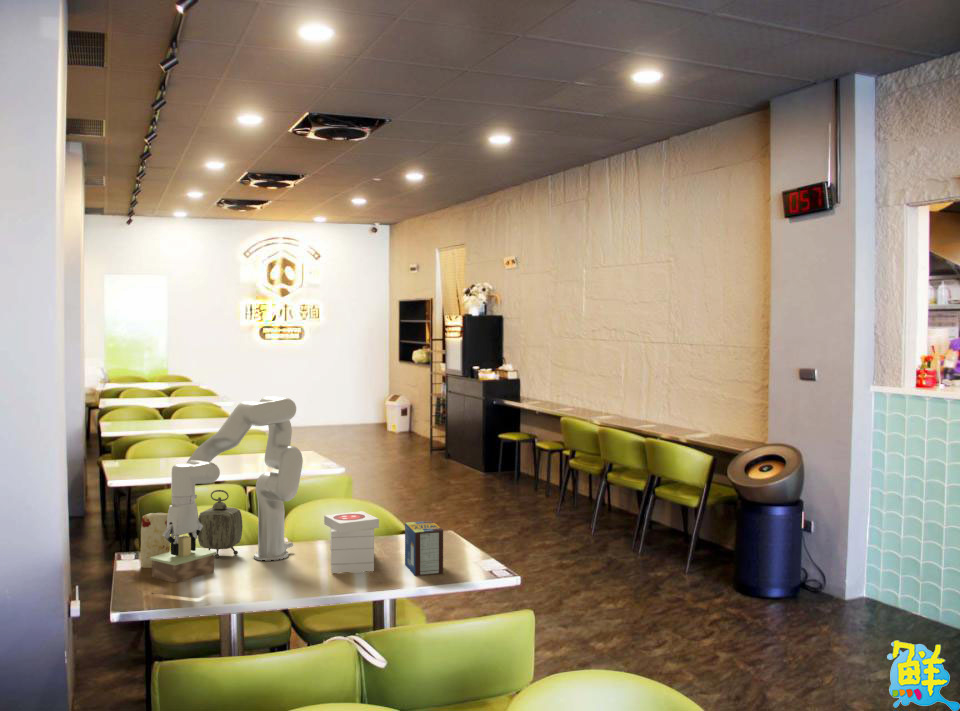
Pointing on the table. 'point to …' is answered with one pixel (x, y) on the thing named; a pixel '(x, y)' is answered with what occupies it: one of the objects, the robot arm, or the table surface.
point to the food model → (153, 537)
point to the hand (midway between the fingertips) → (183, 552)
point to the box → (182, 569)
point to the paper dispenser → (352, 541)
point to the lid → (183, 553)
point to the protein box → (424, 548)
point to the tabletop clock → (220, 526)
